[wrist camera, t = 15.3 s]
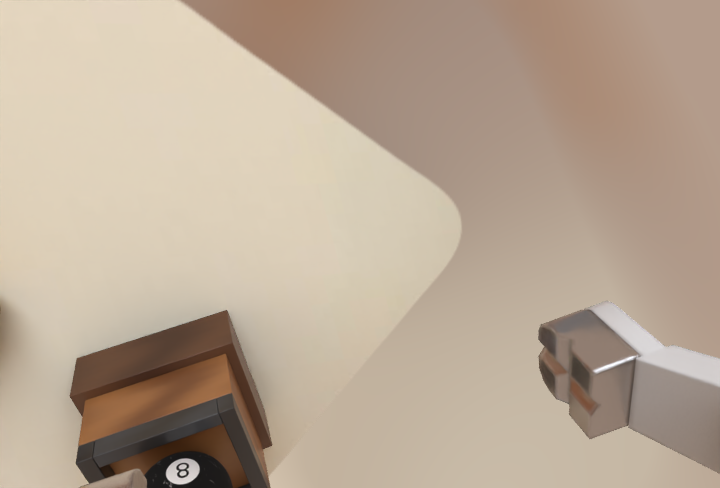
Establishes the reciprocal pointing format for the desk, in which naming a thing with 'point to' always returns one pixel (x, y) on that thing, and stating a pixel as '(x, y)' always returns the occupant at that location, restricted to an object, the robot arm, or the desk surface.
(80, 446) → the brown wooden box
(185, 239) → the desk surface
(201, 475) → the billiard ball
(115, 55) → the desk surface
